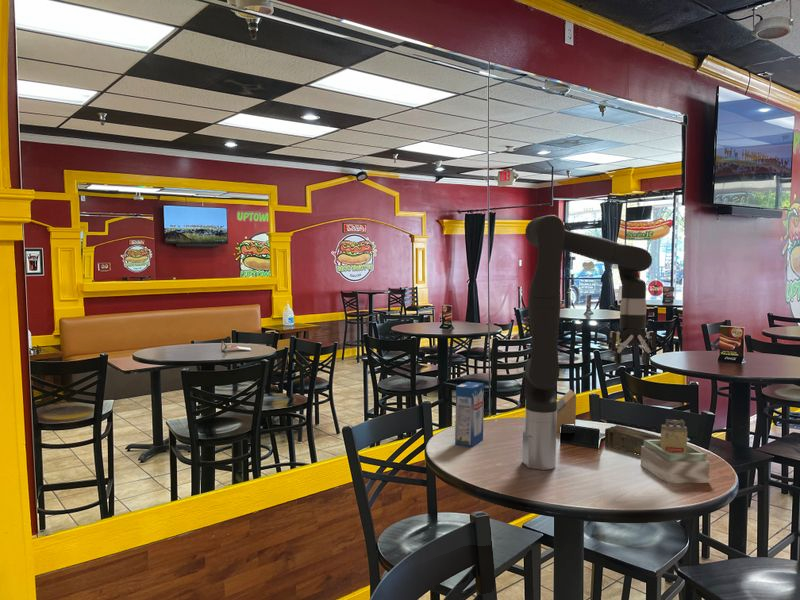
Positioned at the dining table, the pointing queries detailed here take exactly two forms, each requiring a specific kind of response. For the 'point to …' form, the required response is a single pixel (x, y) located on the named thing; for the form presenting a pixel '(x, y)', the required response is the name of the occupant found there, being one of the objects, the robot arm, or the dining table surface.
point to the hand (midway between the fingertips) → (631, 364)
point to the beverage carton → (627, 438)
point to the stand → (675, 463)
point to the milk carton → (469, 414)
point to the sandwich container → (566, 410)
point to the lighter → (674, 436)
